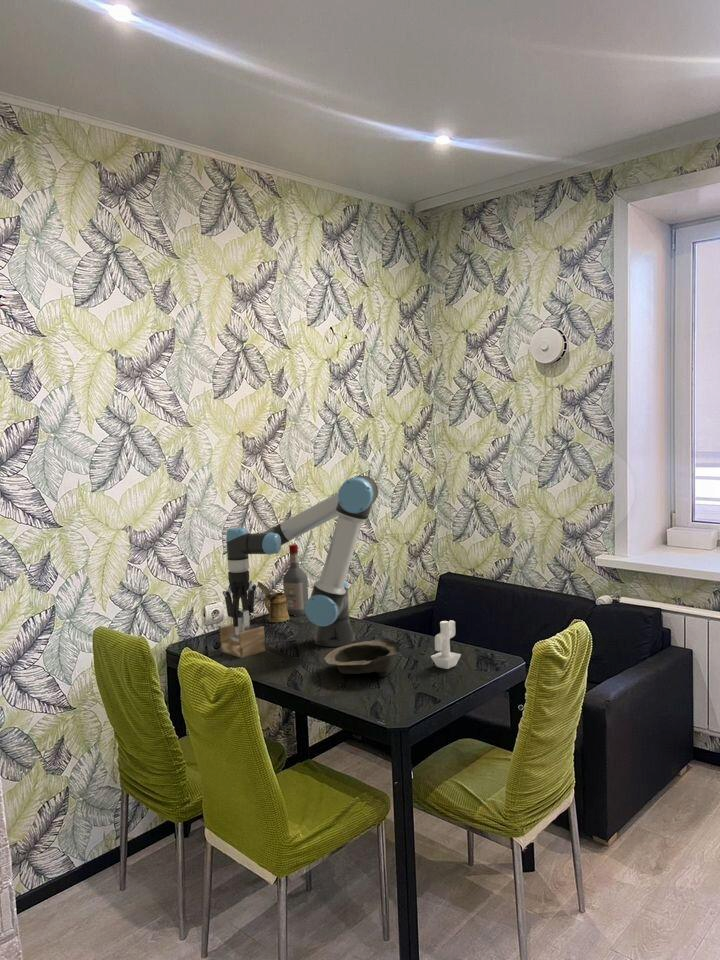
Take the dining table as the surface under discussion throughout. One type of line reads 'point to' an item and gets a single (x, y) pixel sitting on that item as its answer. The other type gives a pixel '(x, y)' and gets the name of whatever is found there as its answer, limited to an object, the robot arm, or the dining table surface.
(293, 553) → the liquor
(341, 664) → the stone bowl
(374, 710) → the dining table surface
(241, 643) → the open wooden box
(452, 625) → the figurine
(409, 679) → the dining table surface
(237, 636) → the bracket
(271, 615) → the wooden mug
